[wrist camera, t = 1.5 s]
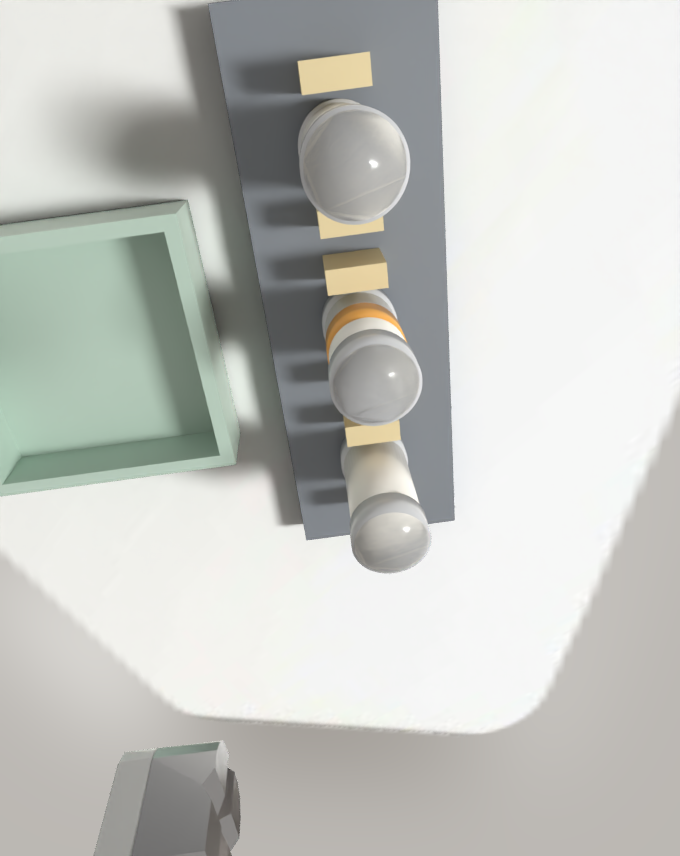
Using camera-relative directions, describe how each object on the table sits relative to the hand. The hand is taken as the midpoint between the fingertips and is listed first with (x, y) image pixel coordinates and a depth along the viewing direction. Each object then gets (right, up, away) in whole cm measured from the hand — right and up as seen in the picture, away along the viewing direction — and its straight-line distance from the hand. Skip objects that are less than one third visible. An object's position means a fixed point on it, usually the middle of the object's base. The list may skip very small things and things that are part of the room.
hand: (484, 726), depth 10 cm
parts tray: (-13, +9, +19) cm, 25 cm away
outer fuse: (-1, +3, +21) cm, 22 cm away
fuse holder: (-2, +10, +19) cm, 21 cm away
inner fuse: (-2, +16, +14) cm, 21 cm away
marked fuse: (-1, +10, +18) cm, 20 cm away
